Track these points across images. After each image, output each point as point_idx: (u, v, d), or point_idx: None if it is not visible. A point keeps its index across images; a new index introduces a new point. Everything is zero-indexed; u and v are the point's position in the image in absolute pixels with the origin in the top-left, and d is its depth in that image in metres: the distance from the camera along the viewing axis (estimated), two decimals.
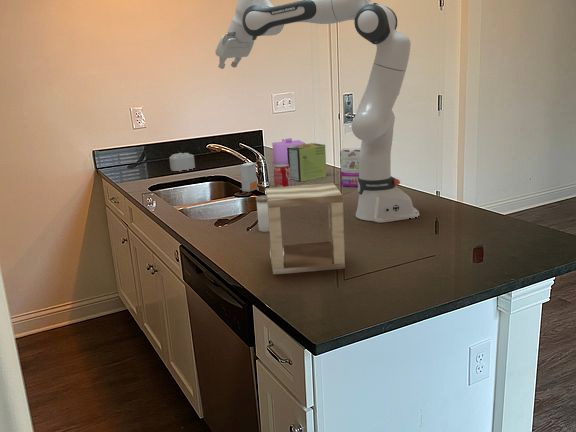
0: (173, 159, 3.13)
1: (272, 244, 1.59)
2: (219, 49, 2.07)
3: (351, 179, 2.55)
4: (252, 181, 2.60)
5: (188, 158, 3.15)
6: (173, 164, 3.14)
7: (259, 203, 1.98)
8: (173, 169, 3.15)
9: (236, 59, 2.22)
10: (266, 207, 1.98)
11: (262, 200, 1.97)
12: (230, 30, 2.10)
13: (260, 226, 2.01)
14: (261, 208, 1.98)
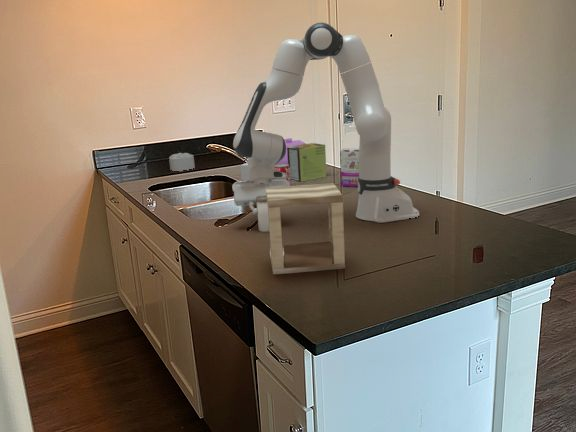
0: (173, 159, 3.13)
1: (272, 244, 1.59)
2: None
3: (351, 179, 2.55)
4: None
5: (188, 158, 3.15)
6: (173, 164, 3.13)
7: (259, 203, 1.98)
8: (173, 169, 3.14)
9: None
10: (266, 207, 1.98)
11: (262, 200, 1.97)
12: None
13: (260, 226, 2.01)
14: (261, 208, 1.98)
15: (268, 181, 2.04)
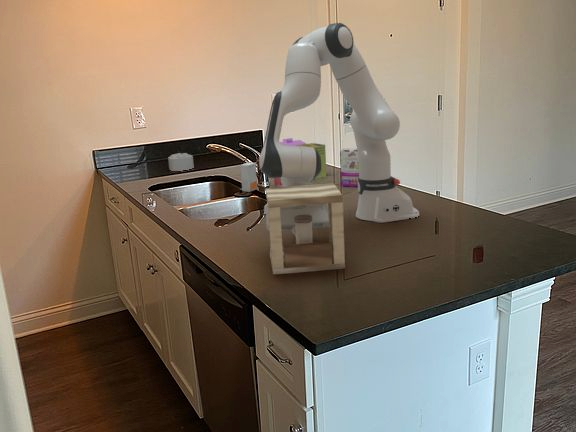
0: (172, 159, 3.12)
1: (272, 244, 1.59)
2: None
3: (351, 179, 2.55)
4: (252, 181, 2.60)
5: (187, 158, 3.14)
6: (172, 164, 3.13)
7: (299, 225, 1.66)
8: (172, 169, 3.14)
9: None
10: (307, 229, 1.66)
11: (302, 221, 1.65)
12: None
13: None
14: (301, 230, 1.66)
15: None
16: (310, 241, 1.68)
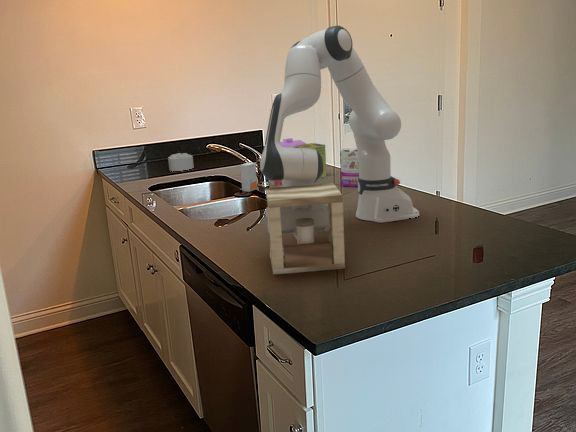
0: (171, 159, 3.12)
1: (272, 244, 1.59)
2: None
3: (351, 179, 2.55)
4: (252, 181, 2.60)
5: (187, 158, 3.14)
6: (171, 164, 3.13)
7: (300, 228, 1.63)
8: (171, 169, 3.14)
9: None
10: (308, 233, 1.63)
11: (303, 224, 1.62)
12: None
13: None
14: (302, 233, 1.63)
15: (308, 205, 1.73)
16: None
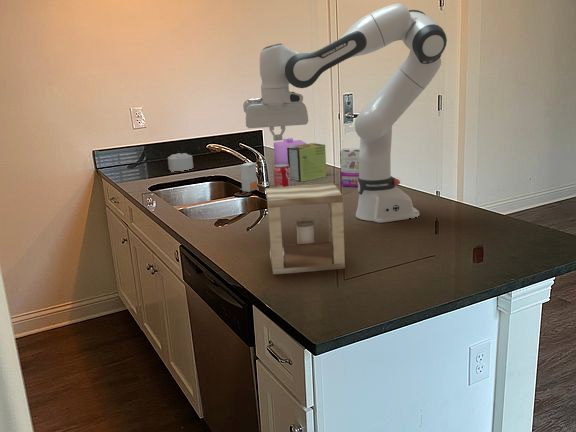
0: (171, 159, 3.12)
1: (272, 244, 1.59)
2: None
3: (351, 179, 2.55)
4: (252, 181, 2.60)
5: (186, 159, 3.14)
6: (171, 164, 3.13)
7: (300, 228, 1.63)
8: (171, 169, 3.14)
9: (281, 131, 1.90)
10: (308, 233, 1.63)
11: (303, 224, 1.62)
12: None
13: None
14: (302, 233, 1.63)
15: (283, 104, 1.86)
16: None
